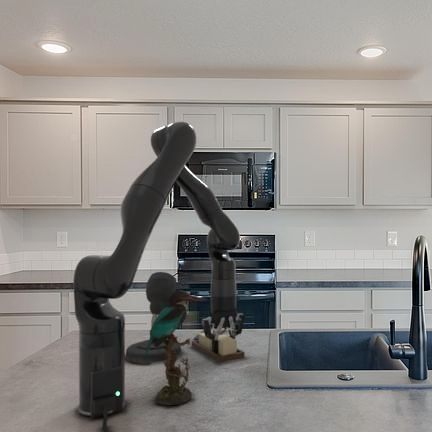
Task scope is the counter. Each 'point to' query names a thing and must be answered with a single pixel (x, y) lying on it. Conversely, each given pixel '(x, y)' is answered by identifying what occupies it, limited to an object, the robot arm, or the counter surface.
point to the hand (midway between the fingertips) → (223, 350)
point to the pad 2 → (226, 345)
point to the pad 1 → (204, 341)
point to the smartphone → (211, 330)
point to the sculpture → (160, 333)
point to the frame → (215, 355)
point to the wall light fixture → (158, 297)
